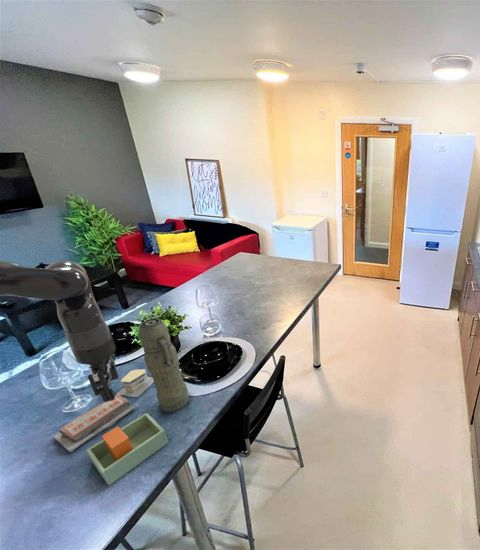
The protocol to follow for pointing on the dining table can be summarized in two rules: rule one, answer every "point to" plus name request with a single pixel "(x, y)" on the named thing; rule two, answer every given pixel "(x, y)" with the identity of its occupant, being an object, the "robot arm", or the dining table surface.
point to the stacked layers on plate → (135, 383)
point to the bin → (144, 441)
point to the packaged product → (93, 422)
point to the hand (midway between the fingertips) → (111, 389)
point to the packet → (117, 443)
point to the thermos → (163, 365)
